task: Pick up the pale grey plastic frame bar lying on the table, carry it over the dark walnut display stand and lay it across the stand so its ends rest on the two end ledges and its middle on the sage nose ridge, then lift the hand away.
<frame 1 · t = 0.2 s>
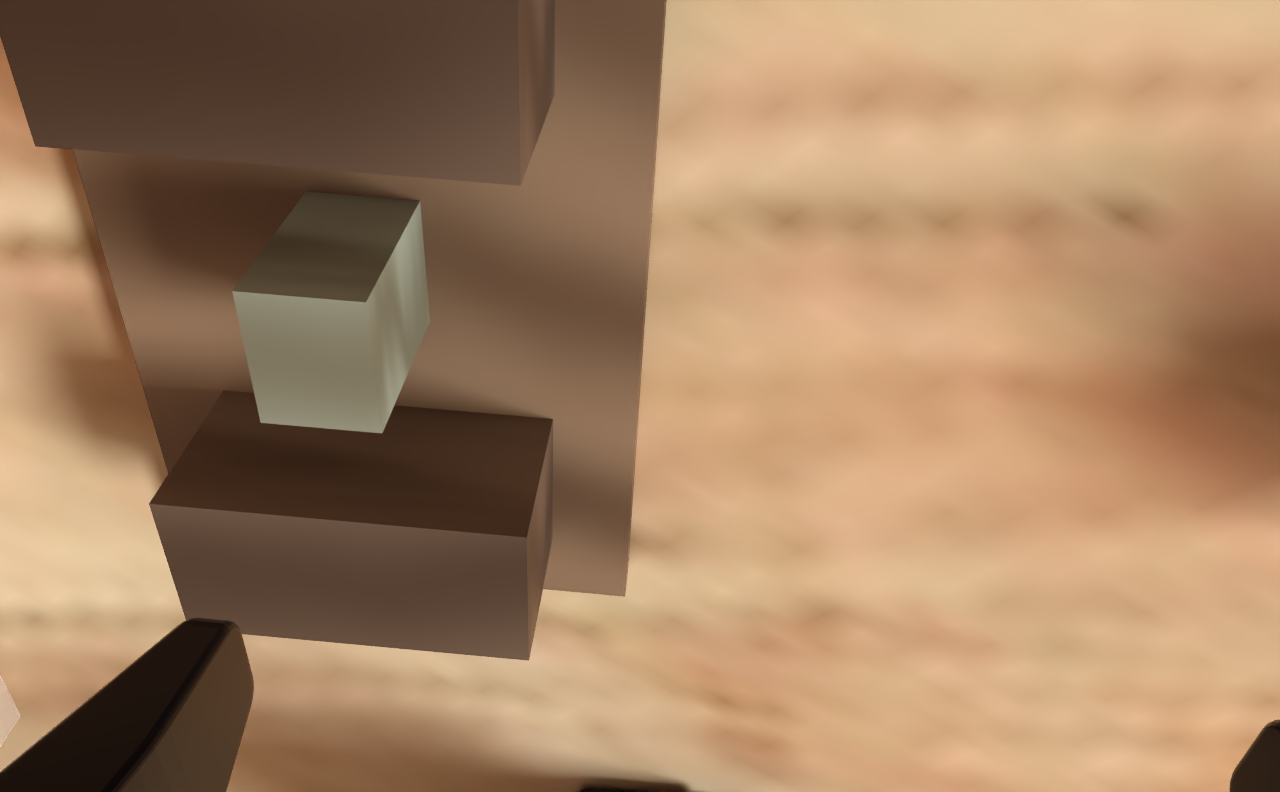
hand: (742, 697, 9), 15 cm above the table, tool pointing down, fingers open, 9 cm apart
display stand: (382, 237, 23), on the table
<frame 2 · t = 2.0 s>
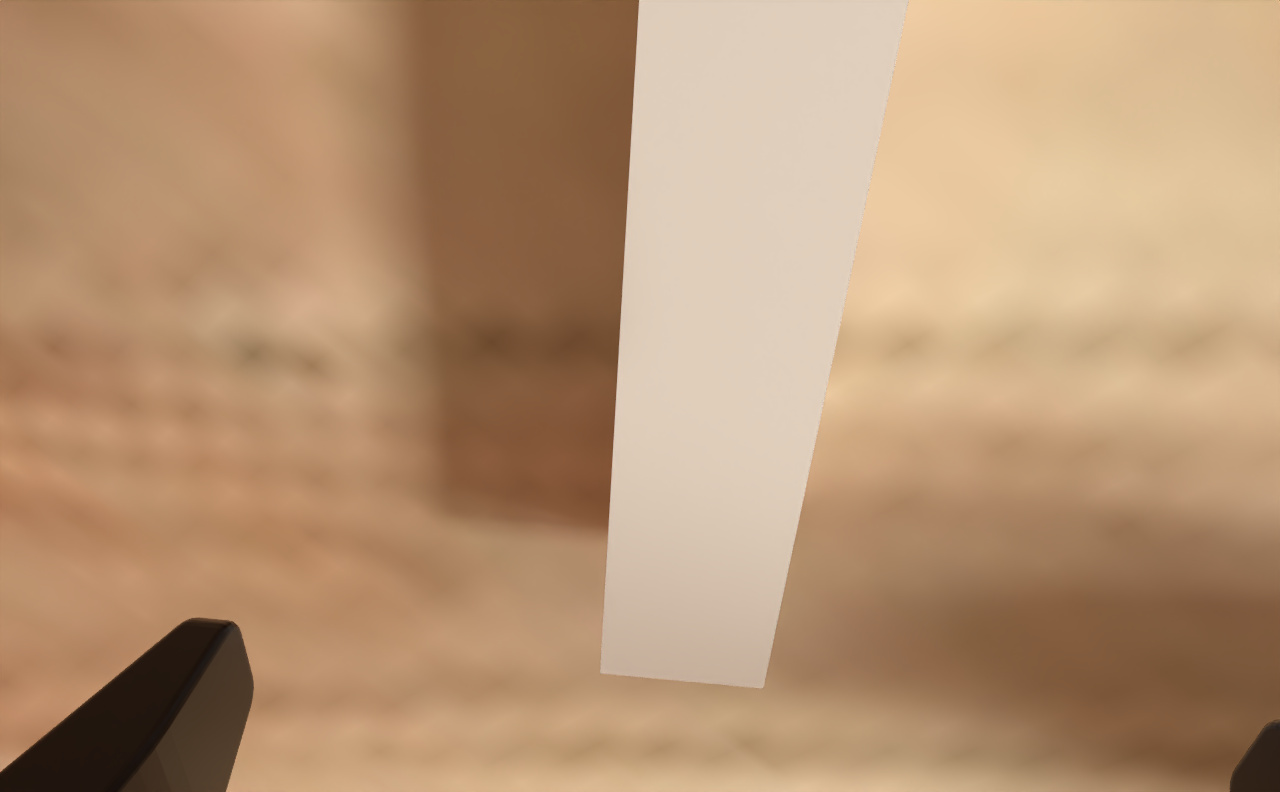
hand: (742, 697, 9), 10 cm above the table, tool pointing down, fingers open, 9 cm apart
frame bar: (730, 184, 17), on the table
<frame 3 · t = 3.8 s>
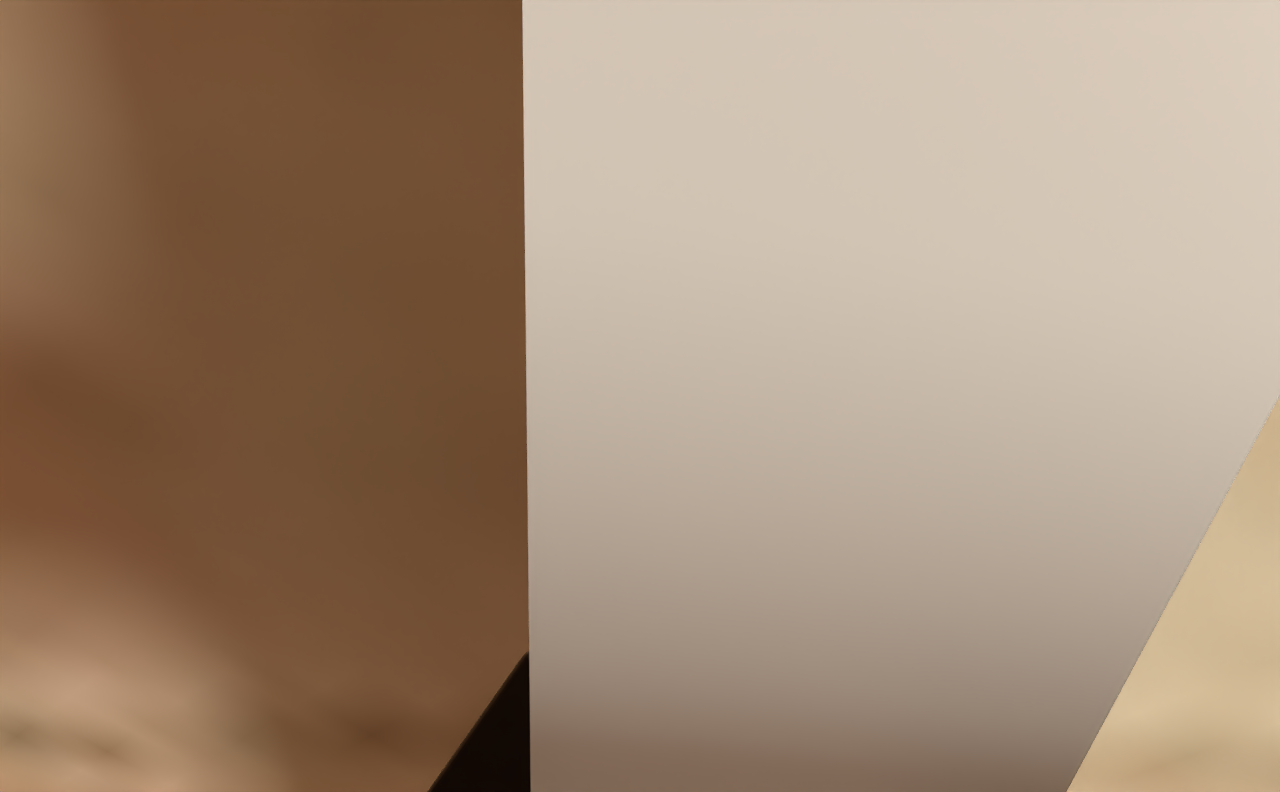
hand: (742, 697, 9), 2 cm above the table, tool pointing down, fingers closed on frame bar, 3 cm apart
frame bar: (740, 558, 10), on the table, touching gripper
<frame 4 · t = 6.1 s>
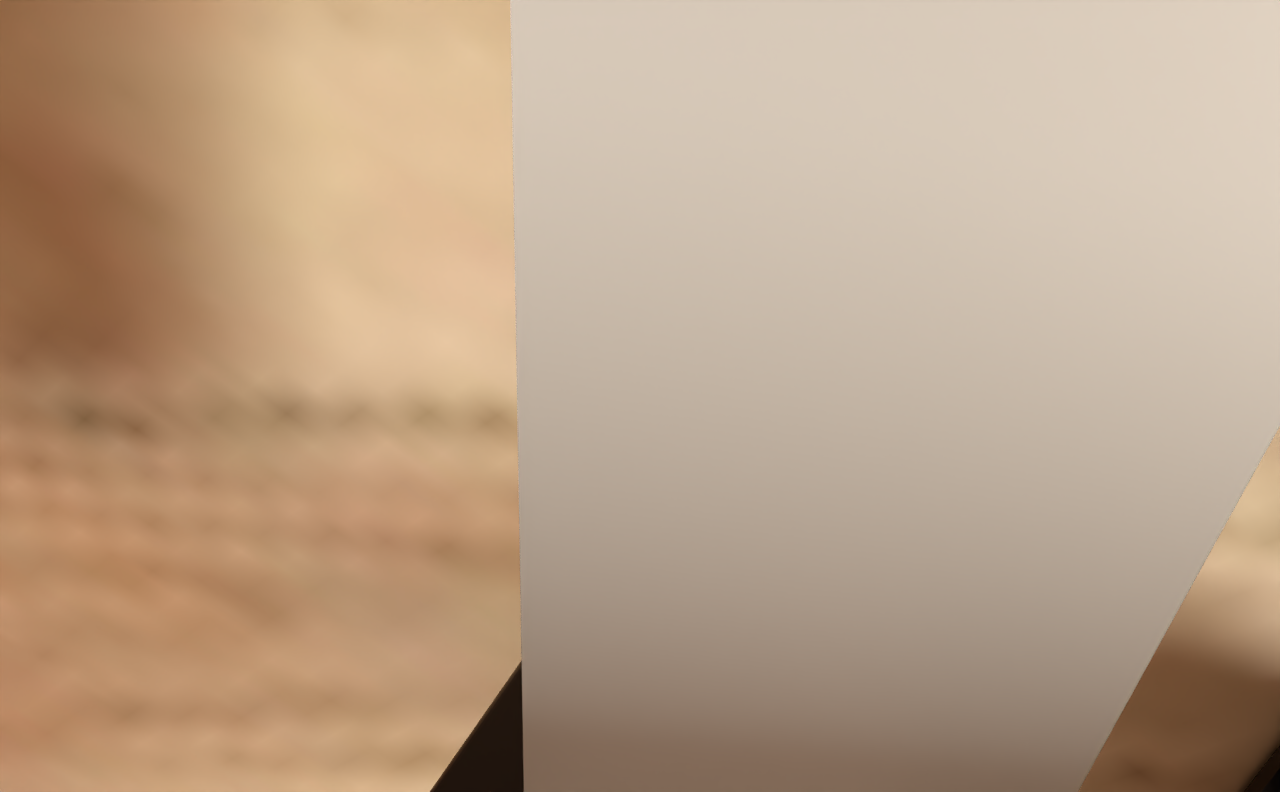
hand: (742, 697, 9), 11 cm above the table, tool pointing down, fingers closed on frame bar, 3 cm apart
frame bar: (738, 567, 10), point 10 cm above the table, touching gripper
when the fingers open (8 cm above the table, at t = 8.5 s): frame bar drops 1 cm, resting on display stand.
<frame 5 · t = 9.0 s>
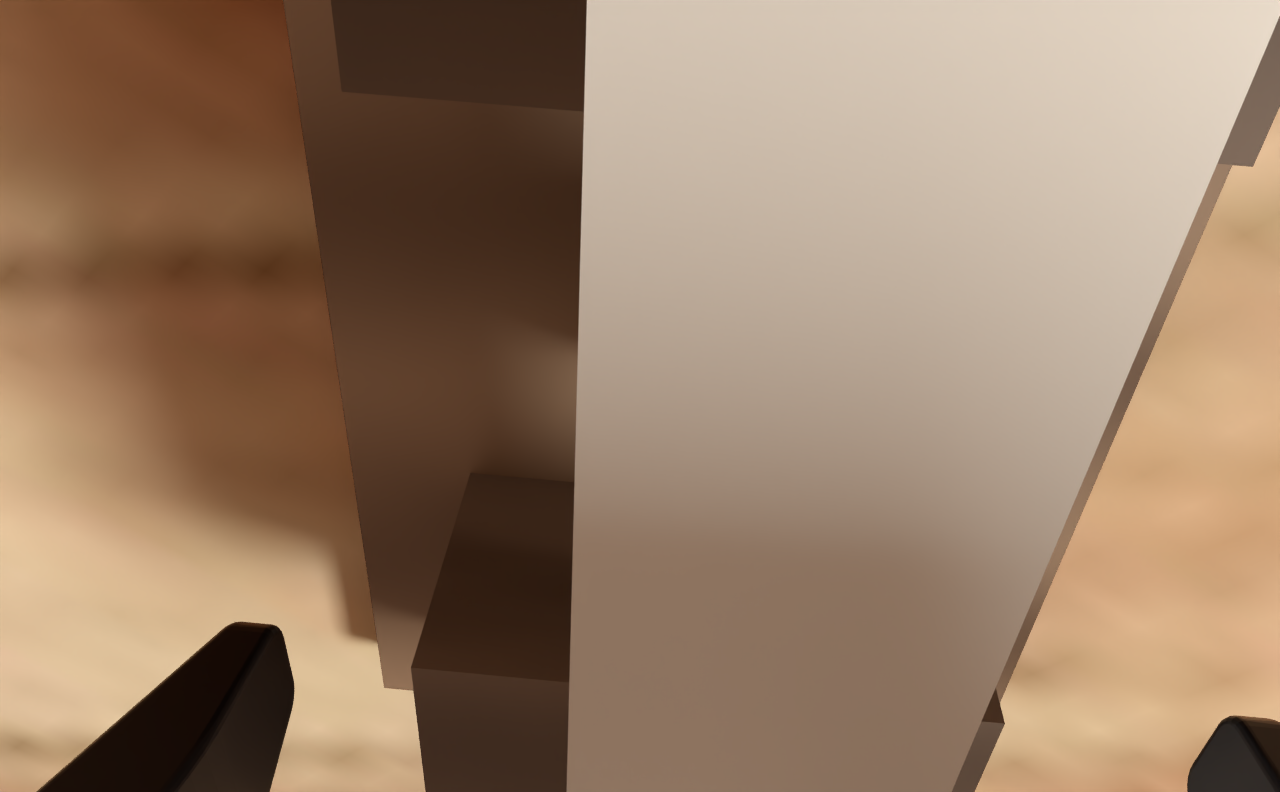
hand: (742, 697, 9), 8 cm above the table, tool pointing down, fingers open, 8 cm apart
frame bar: (746, 471, 11), point 5 cm above the table, touching display stand
display stand: (737, 251, 15), on the table
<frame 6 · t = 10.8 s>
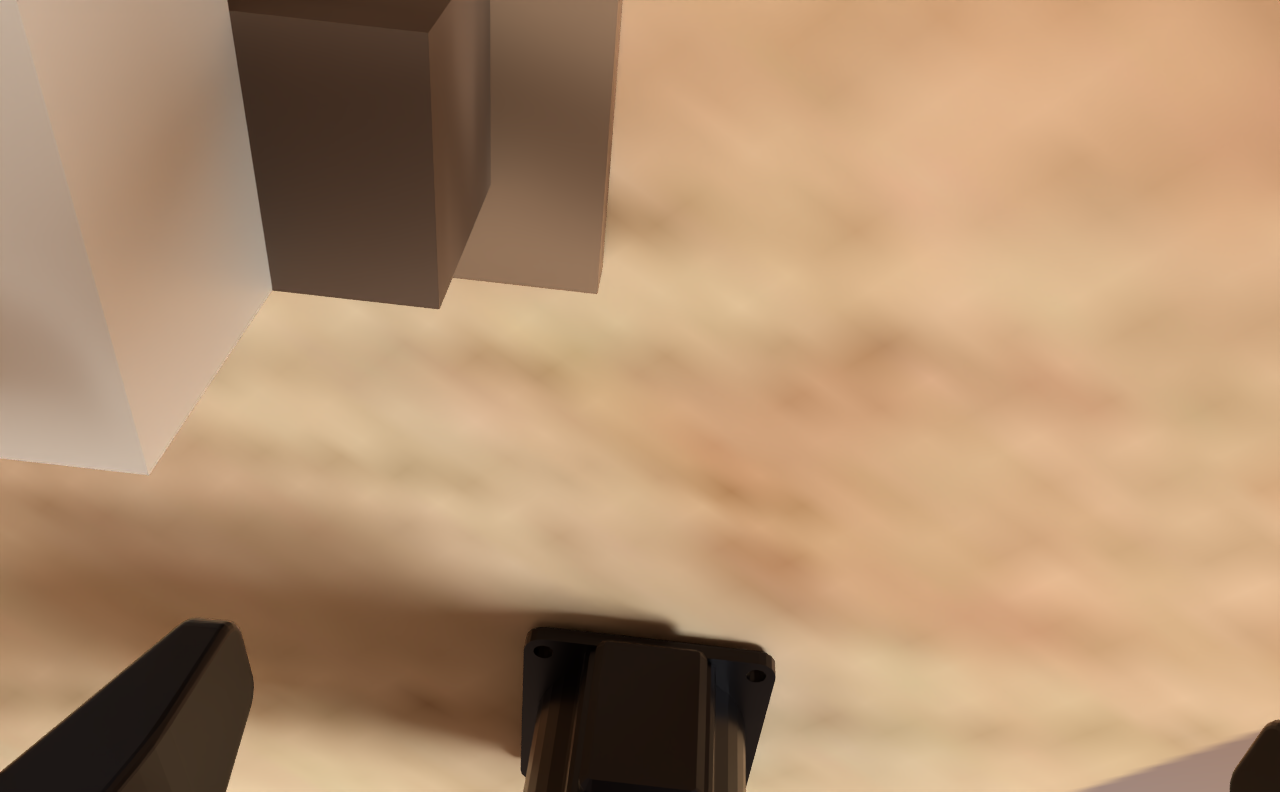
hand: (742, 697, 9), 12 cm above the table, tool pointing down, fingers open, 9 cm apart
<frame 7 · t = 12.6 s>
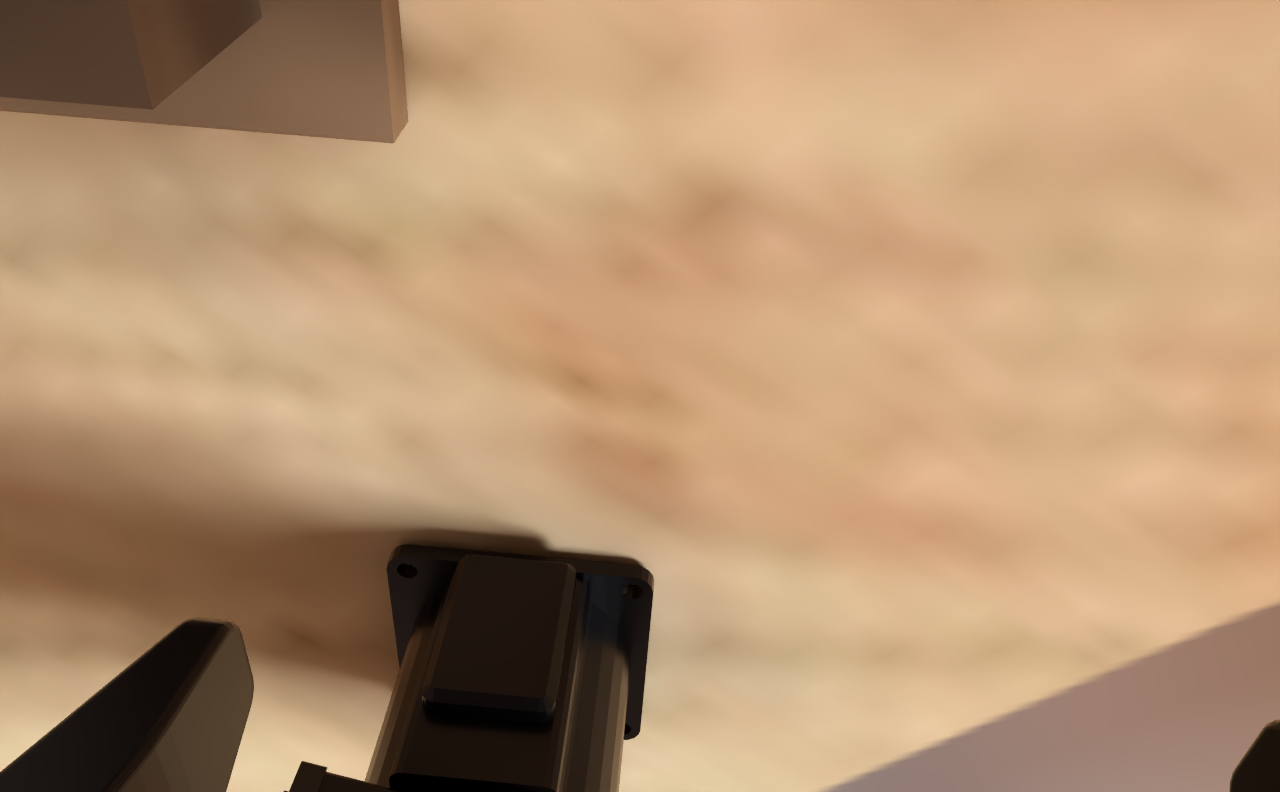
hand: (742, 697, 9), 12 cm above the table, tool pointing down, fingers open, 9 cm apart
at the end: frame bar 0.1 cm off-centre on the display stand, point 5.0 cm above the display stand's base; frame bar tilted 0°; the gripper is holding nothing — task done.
